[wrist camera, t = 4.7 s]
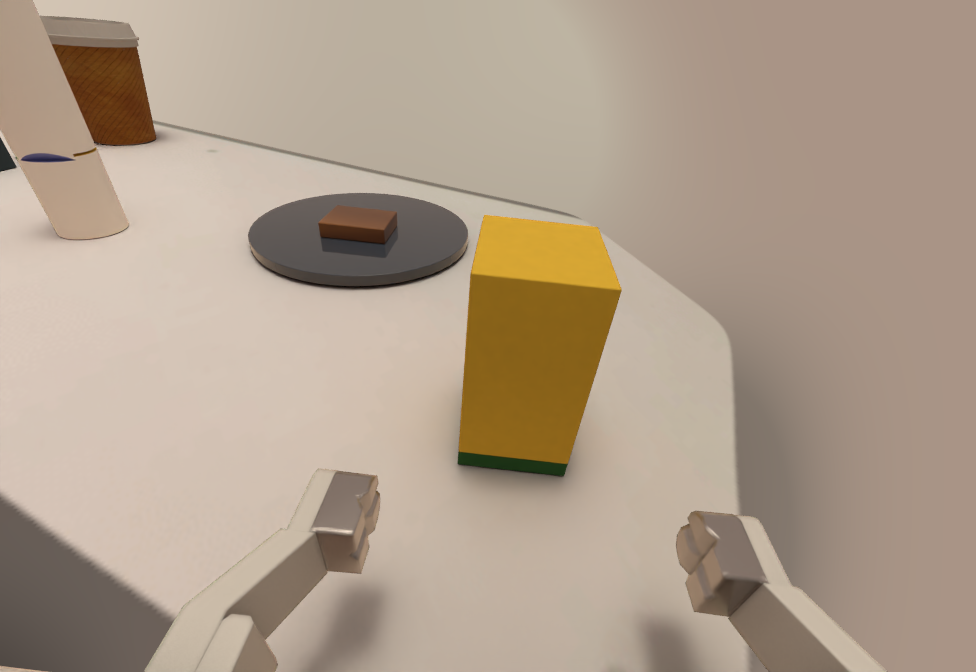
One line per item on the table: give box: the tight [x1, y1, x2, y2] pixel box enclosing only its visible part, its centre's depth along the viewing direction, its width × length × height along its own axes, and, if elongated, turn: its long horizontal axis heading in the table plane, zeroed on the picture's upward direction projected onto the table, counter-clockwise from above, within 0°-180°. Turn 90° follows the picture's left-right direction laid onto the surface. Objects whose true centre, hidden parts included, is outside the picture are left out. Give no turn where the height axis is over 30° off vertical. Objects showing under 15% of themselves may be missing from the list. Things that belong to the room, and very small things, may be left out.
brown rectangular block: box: [318, 205, 397, 244], centre depth 33 cm, size 4×5×1 cm
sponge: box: [458, 215, 622, 476], centre depth 17 cm, size 5×4×9 cm
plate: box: [248, 193, 468, 286], centre depth 35 cm, size 17×17×1 cm
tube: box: [0, 0, 129, 239], centre depth 28 cm, size 4×4×15 cm
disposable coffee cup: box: [40, 16, 156, 145], centre depth 49 cm, size 10×10×12 cm
